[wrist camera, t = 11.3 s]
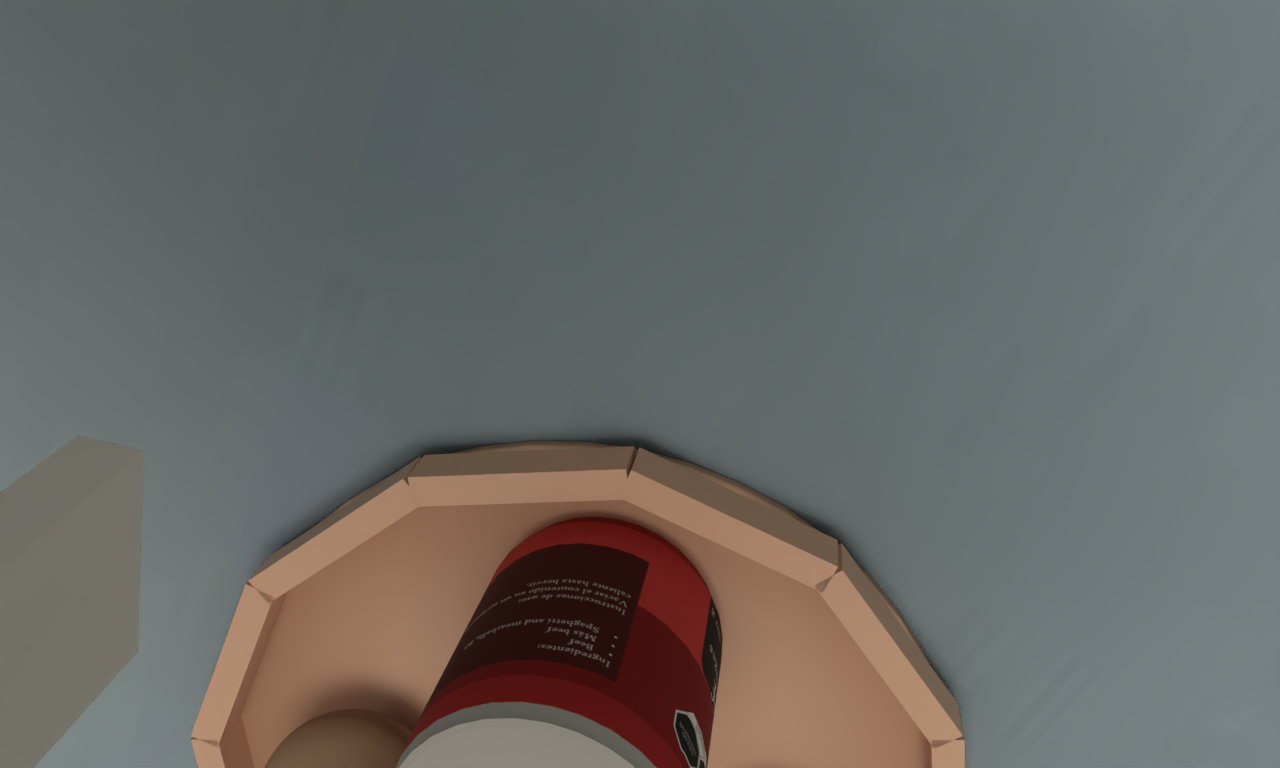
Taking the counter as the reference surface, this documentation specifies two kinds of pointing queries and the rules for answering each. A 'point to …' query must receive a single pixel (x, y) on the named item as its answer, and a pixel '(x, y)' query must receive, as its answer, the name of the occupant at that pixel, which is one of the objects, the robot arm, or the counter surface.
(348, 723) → the seated beads
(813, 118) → the counter surface
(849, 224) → the counter surface
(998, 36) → the counter surface
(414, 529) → the tray
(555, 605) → the canned food
